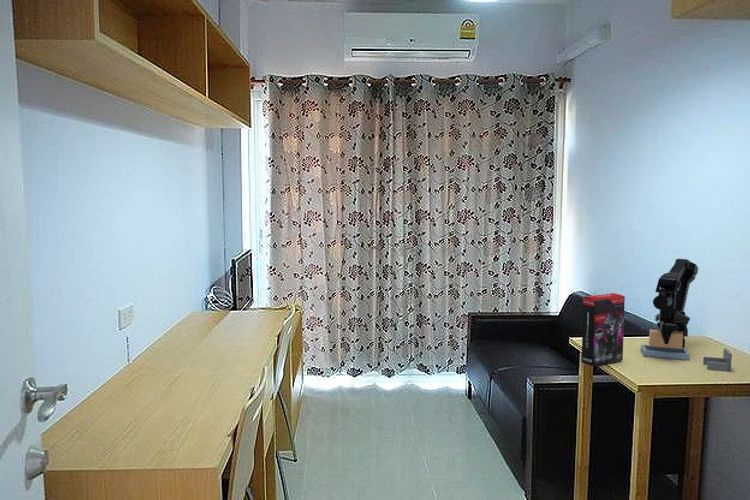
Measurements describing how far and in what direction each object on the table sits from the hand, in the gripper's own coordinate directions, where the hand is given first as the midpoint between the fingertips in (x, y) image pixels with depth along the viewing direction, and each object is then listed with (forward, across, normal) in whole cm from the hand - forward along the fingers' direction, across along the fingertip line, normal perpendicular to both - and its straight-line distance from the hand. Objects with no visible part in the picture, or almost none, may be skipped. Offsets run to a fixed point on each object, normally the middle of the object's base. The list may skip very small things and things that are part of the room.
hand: (665, 342), depth 253 cm
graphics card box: (+6, -19, +26) cm, 33 cm away
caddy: (+2, 0, 0) cm, 2 cm away
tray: (+6, 0, 0) cm, 6 cm away
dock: (+6, -12, -17) cm, 22 cm away
